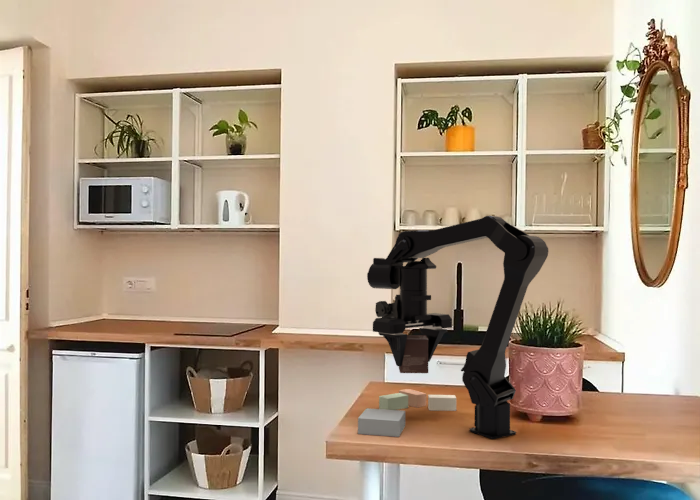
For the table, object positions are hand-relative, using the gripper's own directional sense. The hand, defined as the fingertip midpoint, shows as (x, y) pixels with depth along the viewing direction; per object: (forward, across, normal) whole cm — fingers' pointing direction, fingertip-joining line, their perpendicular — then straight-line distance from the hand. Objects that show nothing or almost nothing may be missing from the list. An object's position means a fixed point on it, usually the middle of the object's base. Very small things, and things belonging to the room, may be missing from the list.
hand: (413, 363), depth 133 cm
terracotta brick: (+12, -9, -9) cm, 17 cm away
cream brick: (+12, -10, -1) cm, 16 cm away
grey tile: (+11, +11, +2) cm, 16 cm away
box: (+2, 0, 0) cm, 2 cm away
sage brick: (+12, -2, -9) cm, 15 cm away
